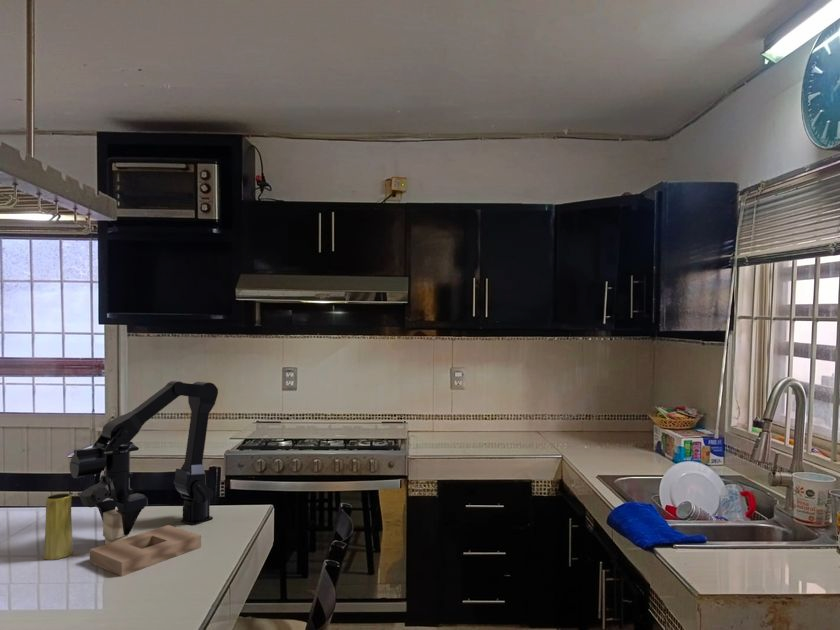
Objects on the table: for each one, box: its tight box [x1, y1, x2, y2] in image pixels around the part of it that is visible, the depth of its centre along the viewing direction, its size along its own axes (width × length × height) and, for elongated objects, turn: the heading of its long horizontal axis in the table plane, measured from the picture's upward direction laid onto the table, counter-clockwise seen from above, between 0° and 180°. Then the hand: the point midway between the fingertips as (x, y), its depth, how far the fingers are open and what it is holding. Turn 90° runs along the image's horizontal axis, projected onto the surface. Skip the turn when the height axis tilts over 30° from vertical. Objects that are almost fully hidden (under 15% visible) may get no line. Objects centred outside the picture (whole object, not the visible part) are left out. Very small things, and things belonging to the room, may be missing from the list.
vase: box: [42, 492, 74, 561], centre depth 137 cm, size 6×6×14 cm
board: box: [89, 524, 202, 577], centre depth 137 cm, size 20×14×3 cm
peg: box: [102, 508, 131, 545], centre depth 145 cm, size 4×4×8 cm
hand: (116, 531), depth 145 cm, fingers open, 9 cm apart
